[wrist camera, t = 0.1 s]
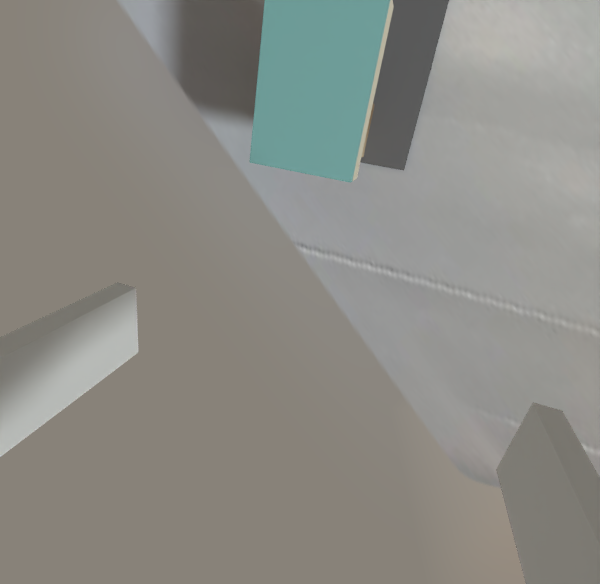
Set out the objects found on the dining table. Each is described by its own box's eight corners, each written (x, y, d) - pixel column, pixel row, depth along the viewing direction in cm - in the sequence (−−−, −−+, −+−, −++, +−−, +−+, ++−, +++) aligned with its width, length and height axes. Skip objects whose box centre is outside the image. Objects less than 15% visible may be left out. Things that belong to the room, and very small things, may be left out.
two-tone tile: (283, -4, 23) (266, -24, 20) (393, 7, 22) (390, -13, 19) (265, 160, 27) (249, 162, 24) (356, 178, 26) (350, 182, 23)
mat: (317, -197, 27) (315, -202, 27) (501, -199, 24) (502, -204, 24) (275, 146, 37) (274, 146, 36) (403, 169, 34) (403, 170, 34)
